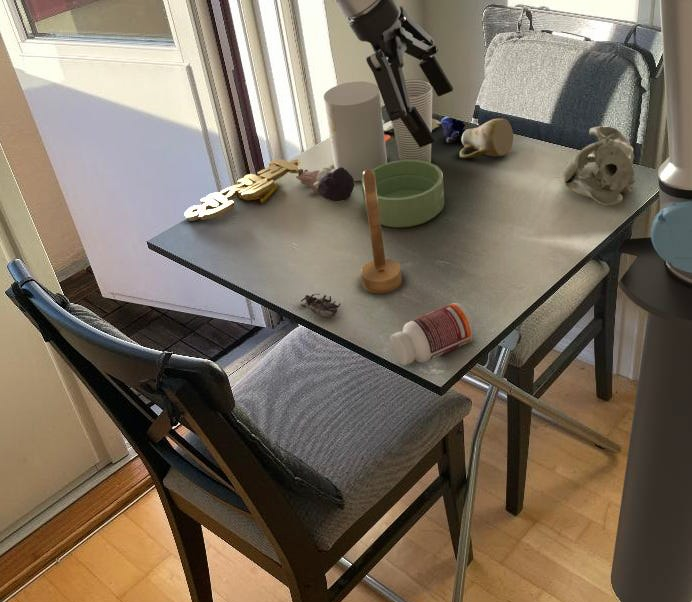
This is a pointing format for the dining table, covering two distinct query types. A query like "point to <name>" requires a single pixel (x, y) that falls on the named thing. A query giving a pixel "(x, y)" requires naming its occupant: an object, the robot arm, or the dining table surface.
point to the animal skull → (603, 167)
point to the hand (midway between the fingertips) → (437, 117)
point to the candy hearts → (386, 127)
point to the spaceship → (452, 129)
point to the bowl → (408, 192)
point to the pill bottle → (433, 334)
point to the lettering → (242, 190)
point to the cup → (423, 103)
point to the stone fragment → (434, 125)
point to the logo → (262, 194)
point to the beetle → (320, 306)
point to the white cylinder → (356, 127)
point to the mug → (488, 139)
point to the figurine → (329, 182)
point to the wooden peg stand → (377, 246)
